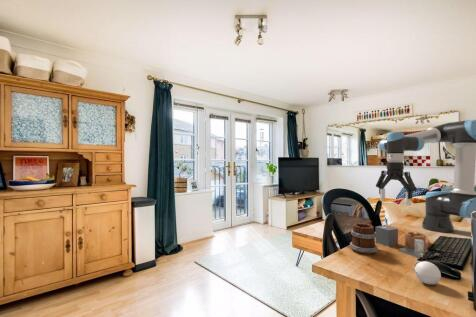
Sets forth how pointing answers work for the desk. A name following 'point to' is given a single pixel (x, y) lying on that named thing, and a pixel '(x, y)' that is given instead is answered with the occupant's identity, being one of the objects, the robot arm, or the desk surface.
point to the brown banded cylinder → (363, 238)
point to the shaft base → (412, 252)
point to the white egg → (427, 273)
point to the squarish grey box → (387, 235)
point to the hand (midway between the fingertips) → (394, 202)
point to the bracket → (411, 238)
